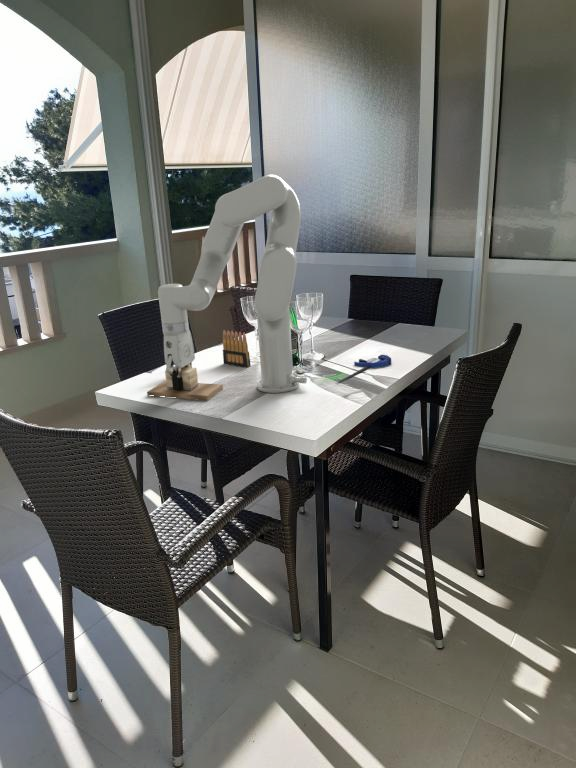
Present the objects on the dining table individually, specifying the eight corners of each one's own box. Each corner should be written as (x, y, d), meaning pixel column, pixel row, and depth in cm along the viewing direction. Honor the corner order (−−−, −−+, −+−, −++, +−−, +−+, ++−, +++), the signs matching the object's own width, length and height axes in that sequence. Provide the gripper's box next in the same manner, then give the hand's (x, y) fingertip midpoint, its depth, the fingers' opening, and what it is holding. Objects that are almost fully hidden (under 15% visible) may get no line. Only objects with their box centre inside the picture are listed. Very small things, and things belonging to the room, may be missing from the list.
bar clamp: (369, 351, 204) (395, 355, 198) (369, 358, 205) (395, 362, 199) (311, 382, 181) (338, 387, 175) (311, 390, 182) (339, 395, 176)
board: (222, 389, 183) (222, 384, 182) (207, 400, 174) (207, 395, 174) (164, 385, 190) (164, 381, 189) (147, 396, 181) (147, 391, 180)
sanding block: (198, 385, 182) (196, 367, 180) (191, 390, 178) (189, 372, 176) (174, 383, 185) (172, 366, 183) (167, 388, 181) (165, 370, 179)
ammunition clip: (223, 363, 209) (220, 329, 205) (227, 362, 210) (223, 328, 206) (247, 367, 202) (244, 332, 199) (250, 366, 204) (247, 331, 200)
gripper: (172, 334, 167) (180, 397, 173) (200, 320, 182) (206, 378, 188) (148, 334, 169) (157, 395, 175) (178, 320, 184) (185, 377, 190)
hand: (182, 386), depth 181 cm, fingers closed on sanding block, 4 cm apart
